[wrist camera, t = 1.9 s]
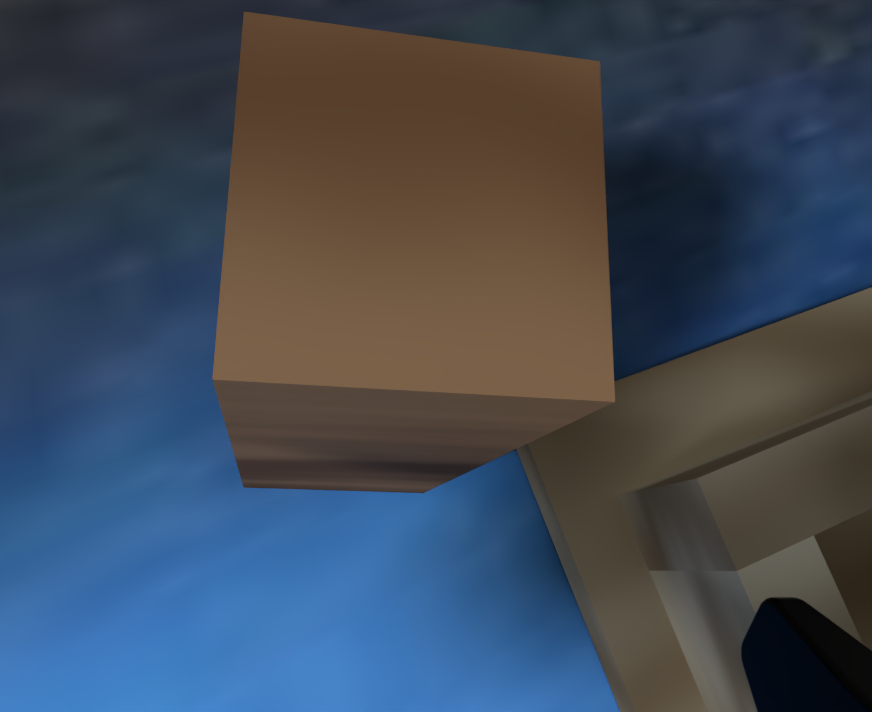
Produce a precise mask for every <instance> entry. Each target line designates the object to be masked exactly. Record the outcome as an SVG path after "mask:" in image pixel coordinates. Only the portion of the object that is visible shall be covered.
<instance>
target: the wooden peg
mask: <svg viewBox="0 0 872 712" xmlns="http://www.w3.org/2000/svg"><path fill="white" fill-rule="evenodd" d="M212 380H213V383H214V387H215V390H216V393H217V397H218V400H219V404H220V407H221V411H222V414H223V418H224V421H225V425H226V428H227V431H228V435H229V438H230V442H231V445H232V449H233V452H234V456H235V459H236V462H237V466H238V469H239V473H240V476H241V480H242V483H243V487H248V488H280V489H312V490H345V491H377V492H409V493H425V492H427V491H429V490H431V489H433V488H435V487H437V486H439V485H441V484H443V483H446V482H448V481H450V480H452V479H454V478H456V477H458V476H460V475H462V474H465V473H467V472H469V471H471V470H473V469H475V468H477V467H479V466H481V465H483V464H486V463H488V462H490V461H492V460H494V459H496V458H498V457H500V456H502V455H505V454H507V453H509V452H511V451H513V450H515V449H517V448H519V447H521V446H523V445H526V444H528V443H530V442H532V441H534V440H536V439H538V438H540V437H542V436H545V435H547V434H549V433H551V432H553V431H555V430H557V429H559V428H561V427H563V426H566V425H568V424H570V423H572V422H574V421H576V420H578V419H580V418H582V417H585V416H587V415H589V414H591V413H593V412H595V411H597V410H599V409H601V408H603V407H606V406H608V405H610V404H612V403H614V402H615V388H614V365H613V343H612V321H611V299H610V277H609V255H608V233H607V211H606V189H605V167H604V145H603V123H602V101H601V78H600V61H593V60H586V59H578V58H571V57H564V56H557V55H550V54H543V53H536V52H529V51H521V50H514V49H507V48H500V47H493V46H486V45H479V44H471V43H464V42H457V41H450V40H443V39H436V38H429V37H421V36H414V35H407V34H400V33H393V32H386V31H379V30H372V29H364V28H357V27H350V26H343V25H336V24H329V23H322V22H314V21H307V20H300V19H293V18H286V17H279V16H272V15H264V14H257V13H250V12H244V18H243V30H242V41H241V53H240V65H239V76H238V88H237V100H236V111H235V123H234V135H233V146H232V158H231V170H230V181H229V193H228V205H227V216H226V228H225V240H224V251H223V263H222V275H221V286H220V298H219V310H218V321H217V333H216V344H215V356H214V368H213V379H212Z"/></svg>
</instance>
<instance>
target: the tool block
mask: <svg viewBox="0 0 872 712" xmlns="http://www.w3.org/2000/svg"><path fill="white" fill-rule="evenodd" d="M614 388H615V402H614V403H612V404H610V405H608V406H606V407H603V408H601V409H599V410H597V411H595V412H593V413H591V414H589V415H587V416H585V417H582V418H580V419H578V420H576V421H574V422H572V423H570V424H568V425H566V426H563V427H561V428H559V429H557V430H555V431H553V432H551V433H549V434H547V435H545V436H542V437H540V438H538V439H536V440H534V441H532V442H530V443H528V444H526V445H523V446H521V447H519V448H517V449H516V450H517V453H518V455H519V458H520V460H521V463H522V465H523V468H524V470H525V473H526V475H527V478H528V480H529V483H530V485H531V488H532V490H533V493H534V495H535V498H536V500H537V503H538V505H539V508H540V511H541V513H542V516H543V518H544V521H545V523H546V526H547V528H548V531H549V533H550V536H551V538H552V541H553V543H554V546H555V548H556V551H557V553H558V556H559V558H560V561H561V563H562V566H563V568H564V571H565V574H566V576H567V579H568V581H569V584H570V586H571V589H572V591H573V594H574V596H575V599H576V601H577V604H578V606H579V609H580V611H581V614H582V616H583V619H584V621H585V624H586V626H587V629H588V631H589V634H590V637H591V639H592V642H593V644H594V647H595V649H596V652H597V654H598V657H599V659H600V662H601V664H602V667H603V669H604V672H605V674H606V677H607V679H608V682H609V684H610V687H611V689H612V692H613V694H614V697H615V700H616V702H617V705H618V707H619V710H620V712H757V709H756V706H755V703H754V699H753V696H752V693H751V690H750V687H749V683H748V680H747V677H746V674H745V671H744V667H743V664H742V659H741V646H742V642H743V639H744V637H745V635H746V633H747V631H748V629H749V627H750V625H751V623H752V621H753V619H754V616H755V614H756V612H757V610H758V608H759V606H760V605H761V603H762V602H763V601H764V600H765V599H767V598H770V597H795V598H799V599H802V600H804V601H805V602H807V603H808V604H809V605H811V606H812V607H813V608H815V609H816V610H817V611H819V612H820V613H822V614H823V615H824V616H826V617H827V618H828V619H830V620H831V621H832V622H834V623H835V624H836V625H838V626H839V627H840V628H842V629H843V630H844V631H846V632H847V633H848V634H850V635H851V636H853V637H854V638H855V639H857V640H858V641H859V642H861V643H862V644H863V645H865V646H866V647H867V648H869V649H870V650H871V651H872V287H871V288H868V289H866V290H863V291H860V292H857V293H855V294H852V295H849V296H847V297H844V298H841V299H838V300H836V301H833V302H830V303H827V304H825V305H822V306H819V307H816V308H814V309H811V310H808V311H806V312H803V313H800V314H797V315H795V316H792V317H789V318H786V319H784V320H781V321H778V322H776V323H773V324H770V325H767V326H765V327H762V328H759V329H756V330H754V331H751V332H748V333H746V334H743V335H740V336H737V337H735V338H732V339H729V340H726V341H724V342H721V343H718V344H715V345H713V346H710V347H707V348H705V349H702V350H699V351H696V352H694V353H691V354H688V355H685V356H683V357H680V358H677V359H675V360H672V361H669V362H666V363H664V364H661V365H658V366H655V367H653V368H650V369H647V370H644V371H642V372H639V373H636V374H634V375H631V376H628V377H625V378H623V379H620V380H617V381H614Z"/></svg>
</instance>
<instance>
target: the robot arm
mask: <svg viewBox="0 0 872 712" xmlns="http://www.w3.org/2000/svg"><path fill="white" fill-rule="evenodd" d="M741 659H742V664H743V667H744V671H745V674H746V677H747V680H748V683H749V687H750V690H751V693H752V696H753V699H754V703H755V706H756V709H757V712H872V651H871V650H870V649H869V648H867V647H866V646H865V645H863V644H862V643H861V642H859V641H858V640H857V639H855V638H854V637H853V636H851V635H850V634H848V633H847V632H846V631H844V630H843V629H842V628H840V627H839V626H838V625H836V624H835V623H834V622H832V621H831V620H830V619H828V618H827V617H826V616H824V615H823V614H822V613H820V612H819V611H817V610H816V609H815V608H813V607H812V606H811V605H809V604H808V603H807V602H805V601H804V600H802V599H799V598H795V597H770V598H767V599H765V600H764V601H763V602H762V603H761V605H760V606H759V608H758V610H757V612H756V614H755V616H754V619H753V621H752V623H751V625H750V627H749V629H748V631H747V633H746V635H745V637H744V639H743V642H742V646H741Z"/></svg>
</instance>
